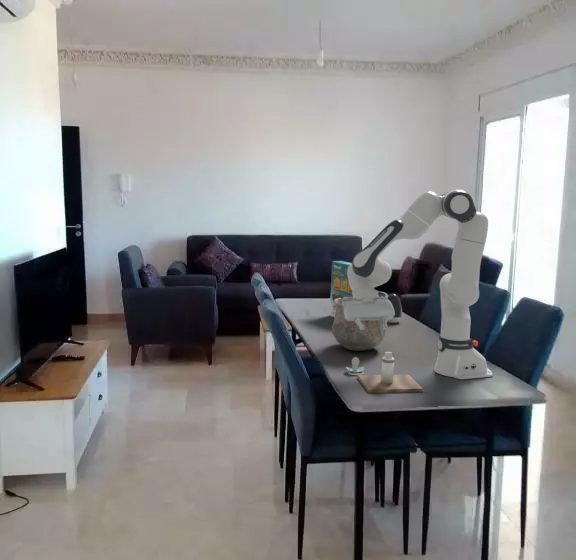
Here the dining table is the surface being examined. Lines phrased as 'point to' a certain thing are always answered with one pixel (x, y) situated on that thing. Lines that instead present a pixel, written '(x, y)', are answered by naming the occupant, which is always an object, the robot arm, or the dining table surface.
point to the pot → (356, 330)
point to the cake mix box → (339, 283)
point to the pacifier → (355, 368)
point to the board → (399, 384)
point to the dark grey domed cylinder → (395, 308)
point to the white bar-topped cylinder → (387, 368)
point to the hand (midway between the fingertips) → (374, 328)
